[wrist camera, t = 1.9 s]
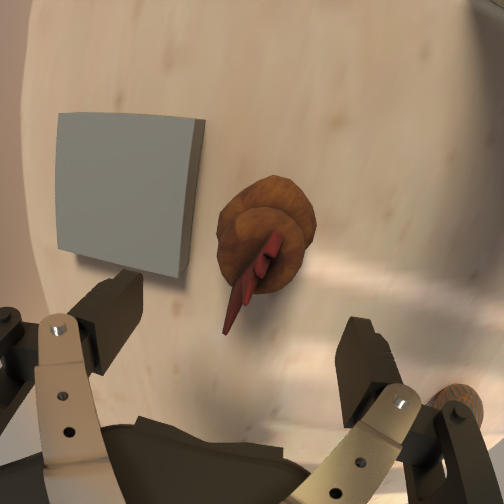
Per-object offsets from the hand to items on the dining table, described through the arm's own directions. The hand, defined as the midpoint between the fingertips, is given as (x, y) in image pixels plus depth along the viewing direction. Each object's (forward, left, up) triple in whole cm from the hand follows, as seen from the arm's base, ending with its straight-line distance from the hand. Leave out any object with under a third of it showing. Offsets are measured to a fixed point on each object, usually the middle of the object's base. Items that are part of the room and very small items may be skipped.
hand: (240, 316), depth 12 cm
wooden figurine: (0, 0, -16) cm, 16 cm away
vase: (-28, +19, -16) cm, 38 cm away
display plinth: (+13, 0, -16) cm, 21 cm away
